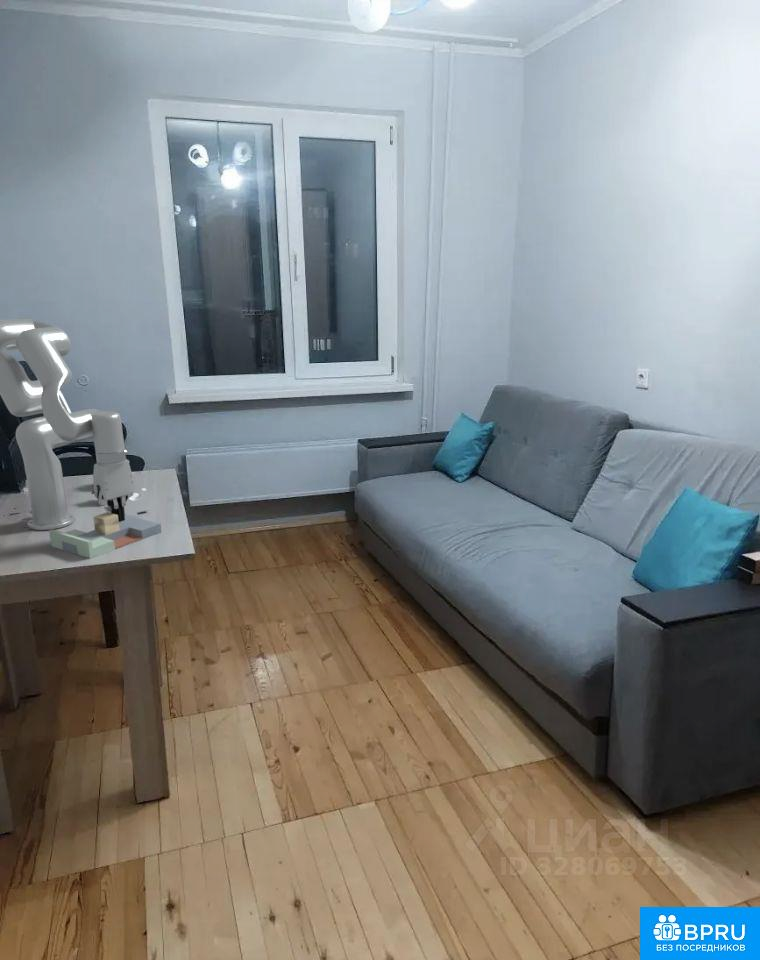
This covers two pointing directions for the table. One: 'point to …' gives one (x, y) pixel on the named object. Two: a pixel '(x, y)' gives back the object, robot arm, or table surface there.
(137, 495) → the bracket
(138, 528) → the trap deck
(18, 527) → the table surface
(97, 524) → the maple block
